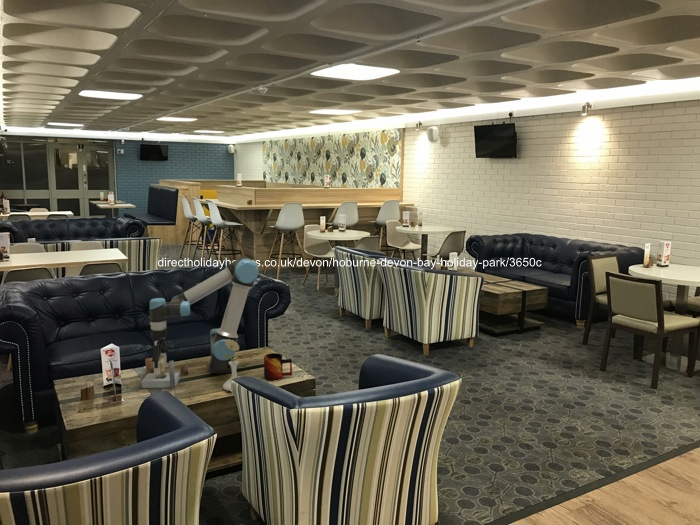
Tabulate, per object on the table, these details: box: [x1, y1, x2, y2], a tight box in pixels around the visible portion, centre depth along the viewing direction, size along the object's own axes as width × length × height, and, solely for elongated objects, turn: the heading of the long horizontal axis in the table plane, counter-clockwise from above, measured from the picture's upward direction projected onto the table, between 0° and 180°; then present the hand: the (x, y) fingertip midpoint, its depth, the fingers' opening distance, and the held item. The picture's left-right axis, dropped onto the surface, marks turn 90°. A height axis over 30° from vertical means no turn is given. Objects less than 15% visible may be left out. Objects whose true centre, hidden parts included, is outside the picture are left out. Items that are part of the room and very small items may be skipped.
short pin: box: [179, 363, 189, 377], centre depth 299 cm, size 4×4×5 cm
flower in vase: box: [222, 339, 240, 392], centre depth 277 cm, size 13×11×25 cm
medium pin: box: [144, 357, 154, 376], centre depth 298 cm, size 4×4×9 cm
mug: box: [263, 352, 293, 382], centre depth 295 cm, size 10×14×12 cm
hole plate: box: [141, 360, 181, 390], centre depth 284 cm, size 17×15×14 cm
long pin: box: [157, 355, 166, 379], centre depth 285 cm, size 4×4×14 cm
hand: (160, 369), depth 285 cm, fingers open, 13 cm apart
